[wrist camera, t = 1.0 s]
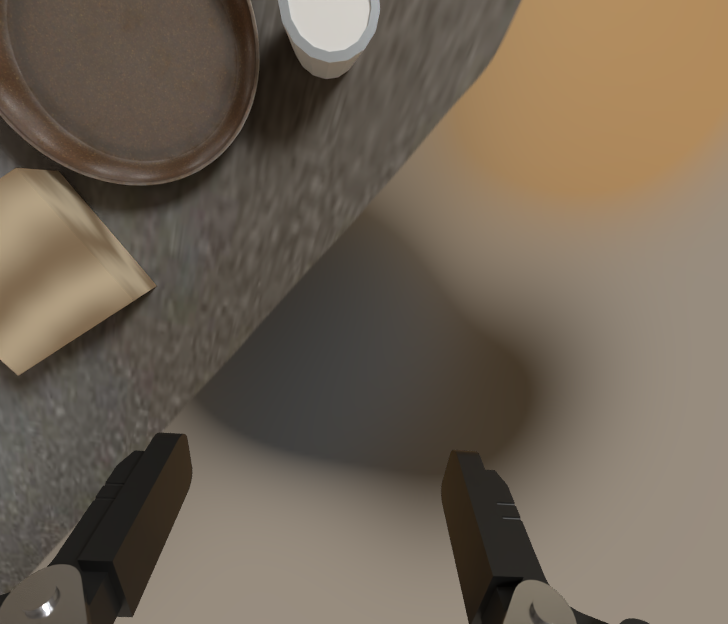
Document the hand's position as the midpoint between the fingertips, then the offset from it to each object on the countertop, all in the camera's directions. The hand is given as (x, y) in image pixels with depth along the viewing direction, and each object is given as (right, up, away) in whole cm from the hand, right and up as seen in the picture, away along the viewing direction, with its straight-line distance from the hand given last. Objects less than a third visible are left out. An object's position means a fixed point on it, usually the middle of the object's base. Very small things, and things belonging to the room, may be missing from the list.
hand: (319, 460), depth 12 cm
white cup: (-2, +28, +21) cm, 34 cm away
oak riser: (-27, +9, +23) cm, 36 cm away
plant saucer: (-17, +26, +19) cm, 37 cm away
